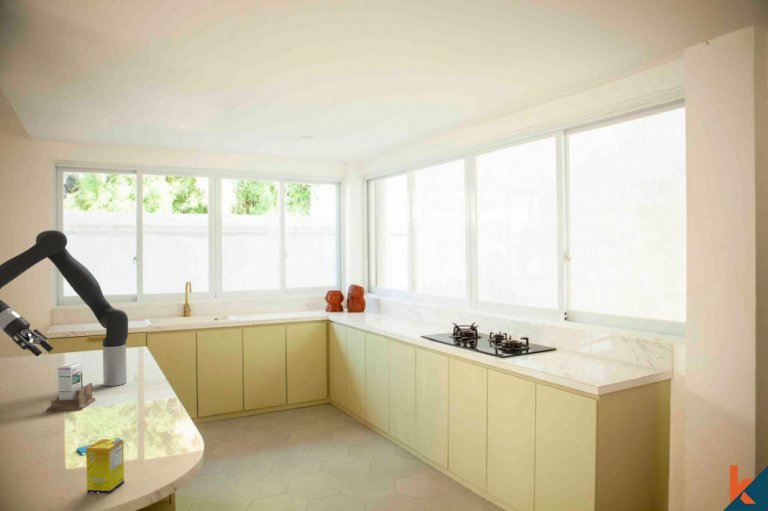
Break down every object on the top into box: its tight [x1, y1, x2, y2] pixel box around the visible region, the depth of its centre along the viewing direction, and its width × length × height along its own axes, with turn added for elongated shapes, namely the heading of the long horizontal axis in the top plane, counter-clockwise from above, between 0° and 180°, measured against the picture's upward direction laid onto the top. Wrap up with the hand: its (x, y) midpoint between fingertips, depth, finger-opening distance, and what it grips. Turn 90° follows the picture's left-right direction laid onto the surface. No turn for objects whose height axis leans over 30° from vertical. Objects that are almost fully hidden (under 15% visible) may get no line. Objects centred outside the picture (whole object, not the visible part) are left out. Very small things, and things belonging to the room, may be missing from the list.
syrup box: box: [57, 362, 84, 400], centre depth 194 cm, size 6×6×14 cm
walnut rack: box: [46, 382, 96, 413], centre depth 194 cm, size 12×12×7 cm
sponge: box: [76, 437, 121, 455], centre depth 151 cm, size 2×12×6 cm
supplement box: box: [85, 438, 125, 494], centre depth 124 cm, size 6×6×11 cm
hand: (45, 352), depth 193 cm, fingers open, 8 cm apart
